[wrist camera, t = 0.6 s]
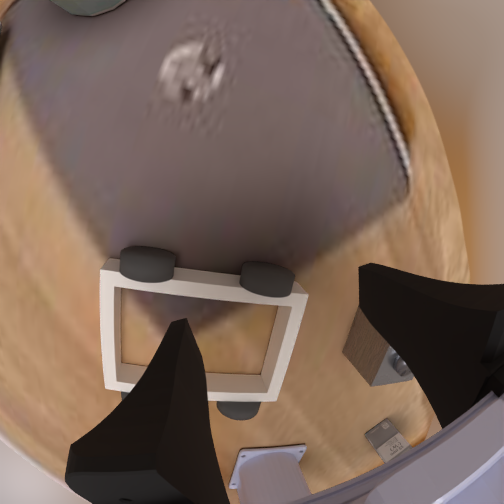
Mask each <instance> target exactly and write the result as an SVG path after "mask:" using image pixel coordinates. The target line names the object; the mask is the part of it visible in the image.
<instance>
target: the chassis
mask: <svg viewBox="0 0 504 504" xmlns="http://www.w3.org/2000/svg"><path fill="white" fill-rule="evenodd" d="M175 259H176V257H175V255H174V254H172V253H170V252H168V251H166V250H162V249H158V248H153V247H143V246H135V247H128V248H124V249H123V250H121V253H120V259H113V258H109V259H108V261H107V262H106V263H105V264H104V265H103V267H102V268H101V269H100V329H101V347H102V361H103V372H104V381H105V389H111V390H116V391H121V397H122V400H123V399H124V398H125V397H126V396H127V395H128V394H129V393H130V391H131V390H132V389H133V387H134V386H135V385H136V384H137V382H138V381H139V379H140V378H141V377H142V375H143V374H144V372H145V370H146V369H147V366H139V365H132V364H126V363H121V287H122V288H129V289H136V290H143V291H150V292H158V293H165V294H173V295H181V296H189V297H198V298H206V299H215V300H225V301H235V302H245V303H255V304H267V305H279V306H278V310H277V314H276V318H275V322H274V326H273V330H272V334H271V338H270V342H269V346H268V349H267V353H266V357H265V361H264V364H263V368H262V372H261V375H245V374H222V373H206V372H205V374H206V381H207V394H208V401H217V408H218V410H219V411H220V412H221V413H222V414H223V415H225V416H226V417H228V418H231V419H234V420H248V419H251V418H253V417H254V416H255V415H256V414H257V413H258V410H259V407H260V403H261V402H267V401H277V398H278V395H279V392H280V389H281V386H282V383H283V380H284V377H285V373H286V370H287V367H288V364H289V361H290V358H291V354H292V351H293V348H294V344H295V341H296V338H297V334H298V331H299V328H300V324H301V321H302V317H303V314H304V310H305V306H306V303H307V299H308V296H309V294H308V293H307V292H306V291H305V290H304V289H303V288H302V287H301V286H300V285H299V284H298V283H297V282H294V279H295V274H294V273H293V272H292V271H290V270H288V269H286V268H284V267H281V266H278V265H275V264H270V263H265V262H246V263H244V264H243V265H242V270H241V275H233V274H225V273H217V272H209V271H201V270H193V269H185V268H178V267H175Z"/></svg>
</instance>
